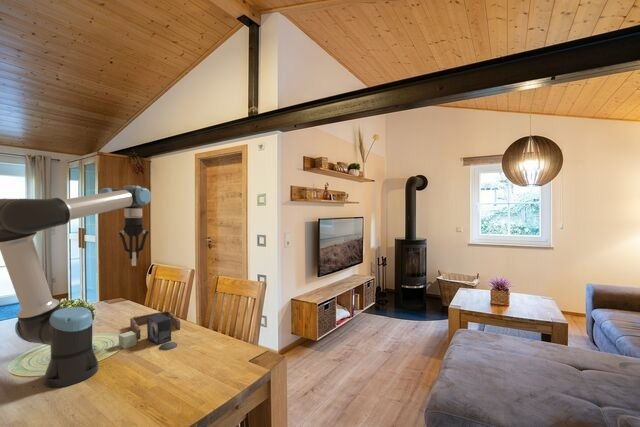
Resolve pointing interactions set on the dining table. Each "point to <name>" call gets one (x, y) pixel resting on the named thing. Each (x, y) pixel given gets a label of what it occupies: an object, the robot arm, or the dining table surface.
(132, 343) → the sage cube
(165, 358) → the dining table surface
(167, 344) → the coaster
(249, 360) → the dining table surface
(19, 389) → the dining table surface
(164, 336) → the small box
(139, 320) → the brown u-shaped wall
